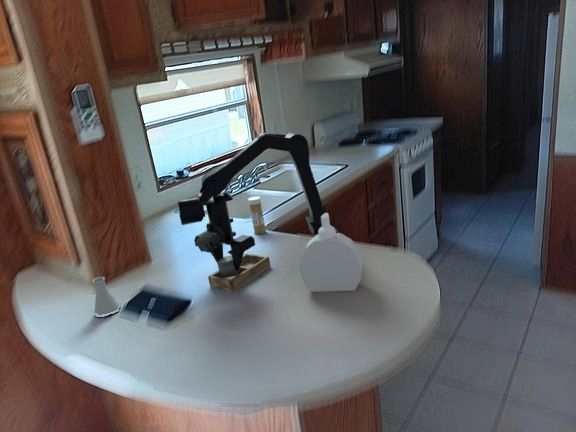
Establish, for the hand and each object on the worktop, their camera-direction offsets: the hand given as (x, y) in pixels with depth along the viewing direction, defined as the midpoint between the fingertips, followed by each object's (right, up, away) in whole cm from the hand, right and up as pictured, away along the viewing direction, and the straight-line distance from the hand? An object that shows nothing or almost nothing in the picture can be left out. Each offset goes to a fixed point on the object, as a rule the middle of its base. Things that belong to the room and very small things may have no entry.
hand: (229, 268), depth 135 cm
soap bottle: (+29, -4, -11) cm, 31 cm away
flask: (-33, -12, -5) cm, 35 cm away
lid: (0, -1, 0) cm, 1 cm away
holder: (+3, -3, +4) cm, 6 cm away
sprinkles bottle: (+7, +9, +40) cm, 41 cm away
